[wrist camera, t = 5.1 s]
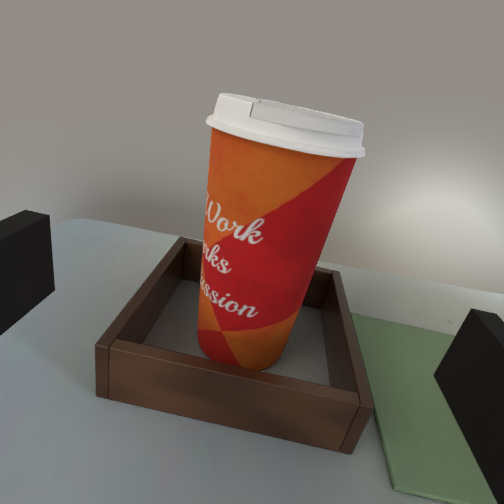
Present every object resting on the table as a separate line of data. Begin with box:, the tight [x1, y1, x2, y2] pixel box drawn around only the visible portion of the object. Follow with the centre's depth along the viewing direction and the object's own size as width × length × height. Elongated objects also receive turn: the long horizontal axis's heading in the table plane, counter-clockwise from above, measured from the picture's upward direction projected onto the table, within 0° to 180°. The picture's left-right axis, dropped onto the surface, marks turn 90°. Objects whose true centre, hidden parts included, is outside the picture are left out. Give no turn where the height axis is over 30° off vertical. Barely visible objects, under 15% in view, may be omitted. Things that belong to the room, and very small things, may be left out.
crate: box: [95, 237, 374, 454], centre depth 23 cm, size 13×13×4 cm
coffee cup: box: [198, 93, 365, 371], centre depth 20 cm, size 8×8×15 cm
